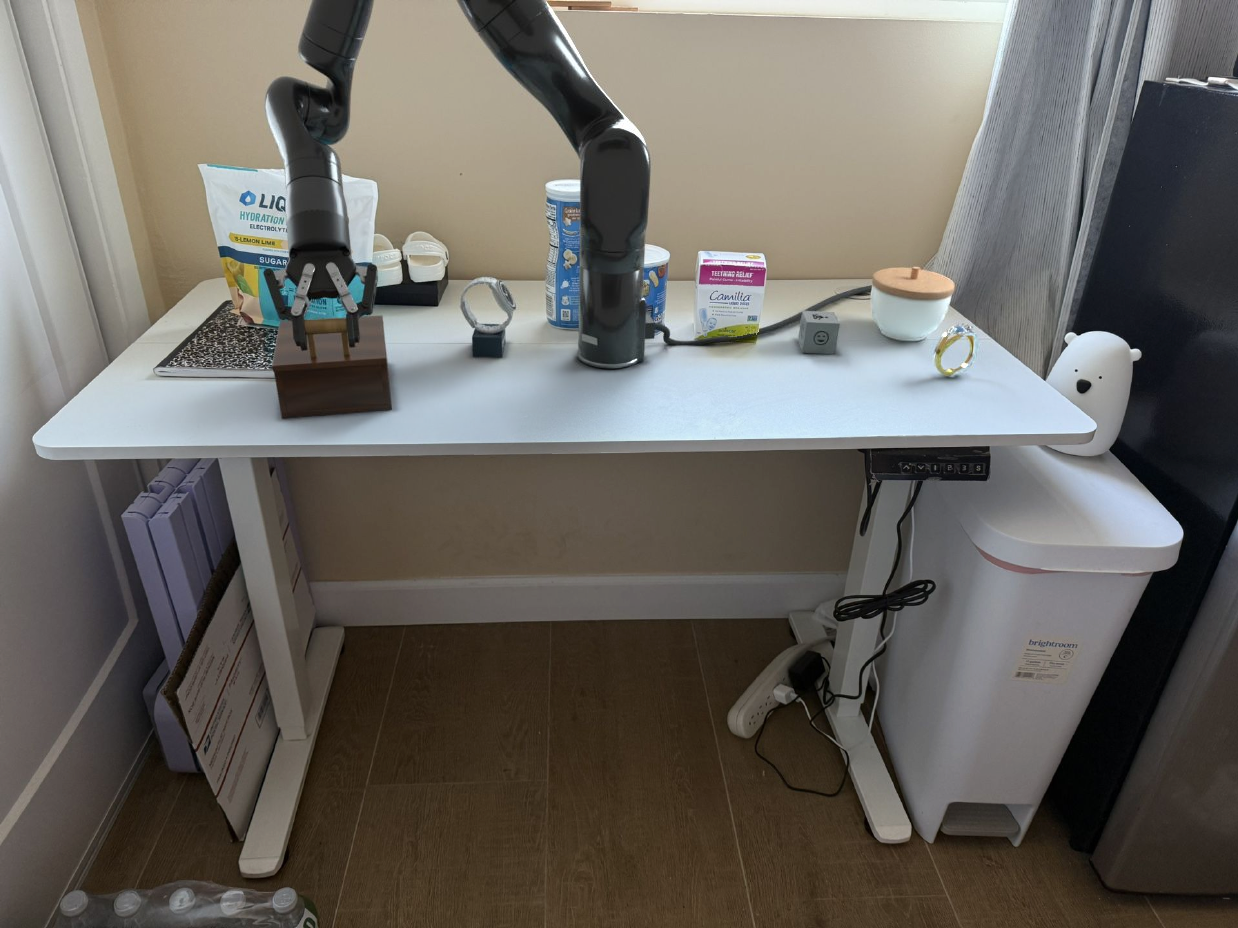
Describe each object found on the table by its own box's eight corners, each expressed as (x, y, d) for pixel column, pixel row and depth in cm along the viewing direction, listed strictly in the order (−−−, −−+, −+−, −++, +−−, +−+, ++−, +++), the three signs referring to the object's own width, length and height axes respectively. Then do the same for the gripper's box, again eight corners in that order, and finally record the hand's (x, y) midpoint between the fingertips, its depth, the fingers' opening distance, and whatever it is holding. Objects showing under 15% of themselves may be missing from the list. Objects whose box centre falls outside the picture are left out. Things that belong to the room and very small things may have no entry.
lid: (387, 363, 113) (382, 321, 110) (272, 371, 109) (265, 328, 107) (383, 320, 125) (379, 282, 123) (280, 326, 122) (274, 287, 120)
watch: (515, 357, 133) (513, 286, 127) (461, 356, 133) (456, 284, 127) (518, 343, 138) (516, 273, 132) (466, 342, 137) (462, 272, 132)
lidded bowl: (863, 342, 143) (875, 275, 137) (863, 316, 153) (874, 252, 148) (945, 352, 140) (961, 283, 135) (940, 324, 151) (954, 260, 146)
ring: (965, 370, 134) (977, 319, 130) (977, 379, 132) (990, 327, 128) (923, 373, 133) (935, 322, 129) (935, 382, 130) (947, 330, 126)
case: (392, 409, 117) (386, 361, 113) (281, 418, 113) (273, 369, 110) (387, 365, 129) (383, 320, 126) (288, 372, 126) (280, 327, 122)
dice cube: (797, 340, 142) (802, 310, 140) (829, 342, 142) (834, 312, 140) (802, 352, 138) (806, 322, 136) (834, 354, 138) (839, 323, 136)
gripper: (252, 209, 109) (260, 338, 105) (374, 205, 112) (387, 330, 108) (262, 240, 116) (271, 362, 112) (377, 236, 119) (389, 354, 115)
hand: (328, 346), depth 110 cm, fingers closed on lid, 5 cm apart
